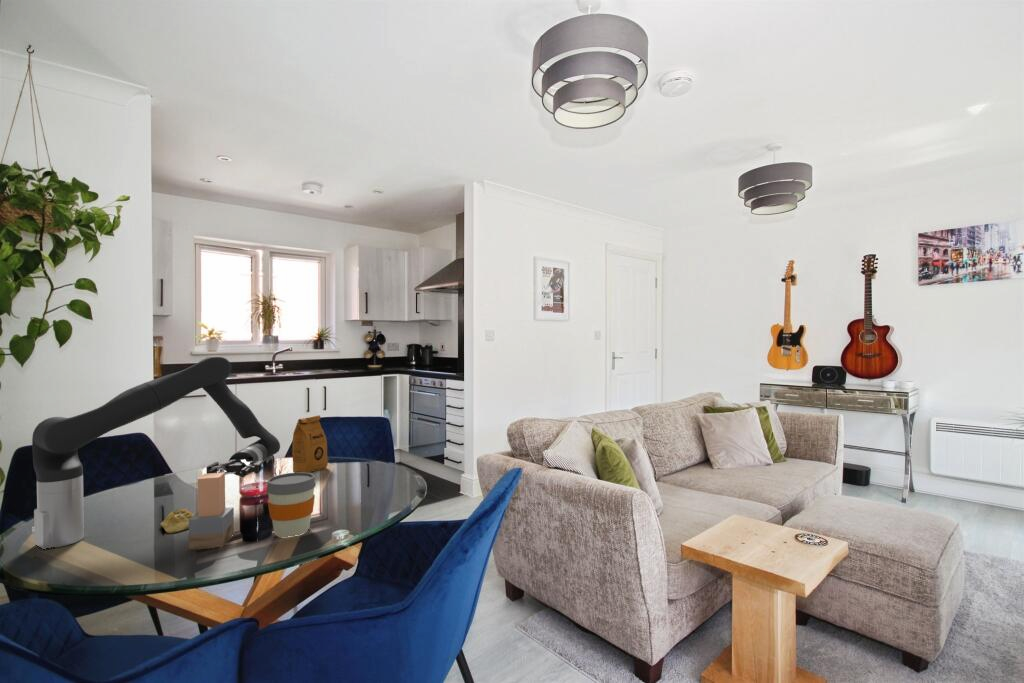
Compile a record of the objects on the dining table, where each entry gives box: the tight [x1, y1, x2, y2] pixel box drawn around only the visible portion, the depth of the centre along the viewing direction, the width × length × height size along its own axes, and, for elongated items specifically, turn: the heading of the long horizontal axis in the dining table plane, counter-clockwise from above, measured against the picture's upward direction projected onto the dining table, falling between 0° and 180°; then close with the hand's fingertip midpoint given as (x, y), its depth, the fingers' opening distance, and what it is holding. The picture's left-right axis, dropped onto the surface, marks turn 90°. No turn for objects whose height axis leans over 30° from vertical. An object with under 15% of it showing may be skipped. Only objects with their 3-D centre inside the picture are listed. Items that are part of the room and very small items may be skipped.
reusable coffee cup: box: [266, 472, 316, 537], centre depth 141 cm, size 13×13×15 cm
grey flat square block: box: [188, 506, 235, 536], centre depth 134 cm, size 8×8×4 cm
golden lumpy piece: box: [159, 509, 195, 534], centre depth 146 cm, size 11×6×10 cm
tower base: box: [188, 521, 235, 551], centre depth 134 cm, size 8×8×4 cm
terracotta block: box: [197, 471, 226, 517], centre depth 134 cm, size 5×5×10 cm
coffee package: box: [291, 414, 328, 473], centre depth 205 cm, size 10×12×22 cm
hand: (226, 474), depth 143 cm, fingers open, 8 cm apart
